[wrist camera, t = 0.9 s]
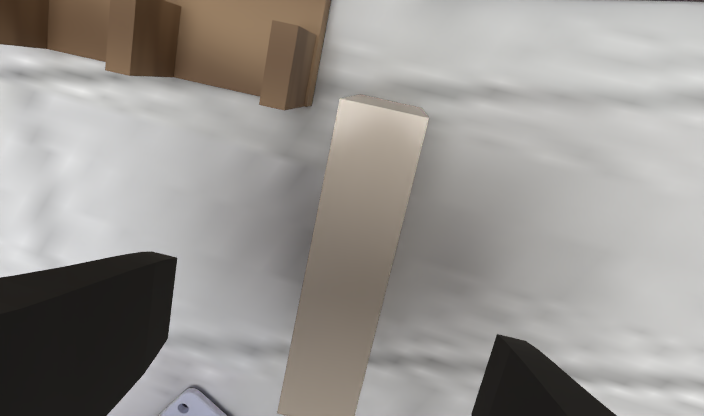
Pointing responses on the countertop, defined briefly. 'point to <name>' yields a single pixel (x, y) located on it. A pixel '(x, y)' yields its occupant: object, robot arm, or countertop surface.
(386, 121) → the clay slab
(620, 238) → the countertop surface
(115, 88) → the countertop surface
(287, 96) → the pegged wooden tray
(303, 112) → the countertop surface
